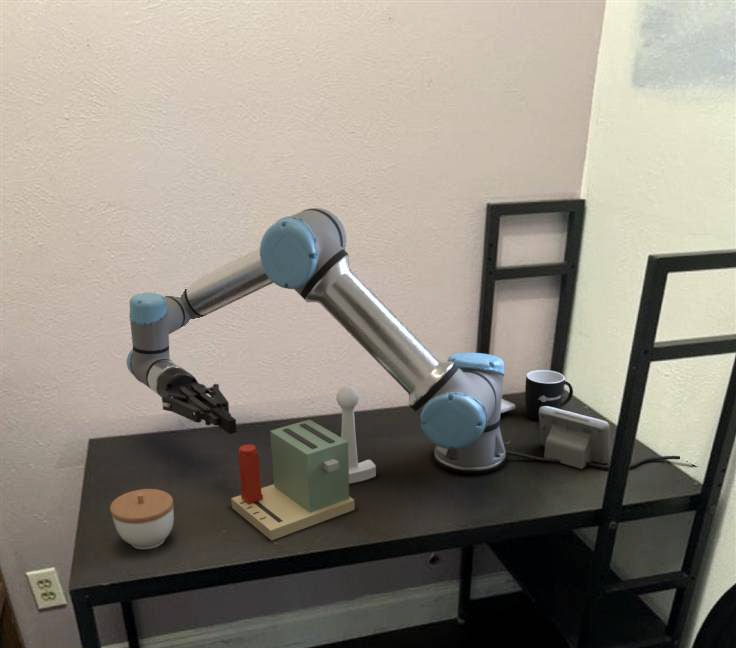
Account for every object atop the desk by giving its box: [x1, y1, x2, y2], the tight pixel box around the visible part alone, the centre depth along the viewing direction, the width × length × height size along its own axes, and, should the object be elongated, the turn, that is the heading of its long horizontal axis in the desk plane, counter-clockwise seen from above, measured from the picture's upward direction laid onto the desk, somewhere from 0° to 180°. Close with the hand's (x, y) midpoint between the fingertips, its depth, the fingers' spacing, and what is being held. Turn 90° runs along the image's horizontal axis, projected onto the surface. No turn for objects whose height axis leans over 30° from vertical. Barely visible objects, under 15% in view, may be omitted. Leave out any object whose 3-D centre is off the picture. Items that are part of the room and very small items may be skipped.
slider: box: [237, 444, 263, 504], centre depth 146 cm, size 3×3×11 cm
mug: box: [524, 369, 574, 422], centre depth 186 cm, size 12×9×10 cm
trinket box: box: [109, 488, 175, 550], centre depth 138 cm, size 11×11×9 cm
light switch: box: [501, 398, 517, 414], centre depth 189 cm, size 10×10×5 cm
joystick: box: [335, 385, 377, 484], centre depth 158 cm, size 11×8×20 cm
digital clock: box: [538, 406, 611, 470], centre depth 166 cm, size 16×9×11 cm, turn 39°
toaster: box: [230, 419, 356, 541], centre depth 146 cm, size 16×18×14 cm
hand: (232, 426), depth 147 cm, fingers closed
